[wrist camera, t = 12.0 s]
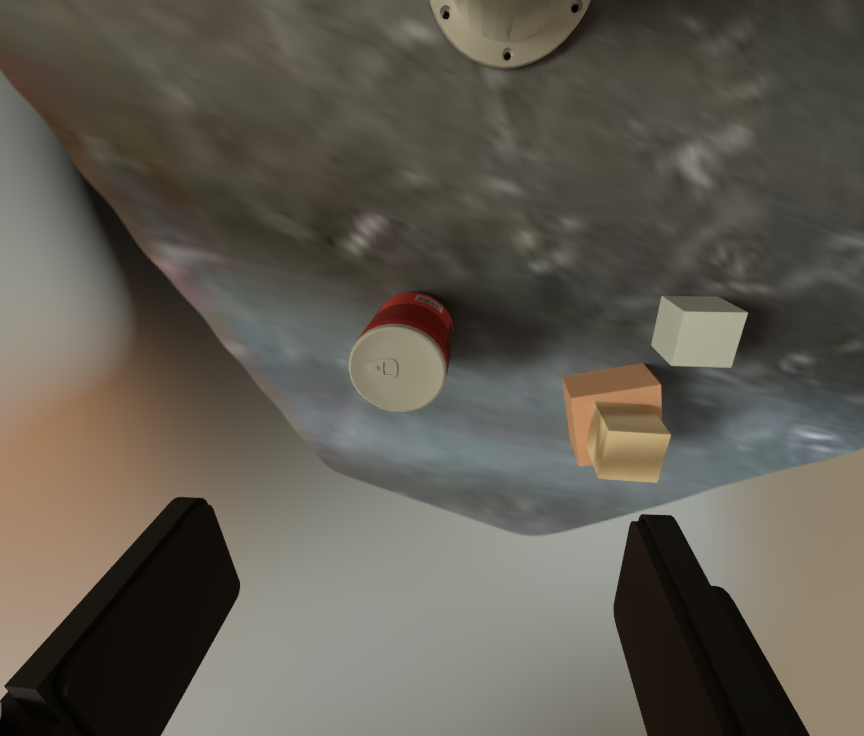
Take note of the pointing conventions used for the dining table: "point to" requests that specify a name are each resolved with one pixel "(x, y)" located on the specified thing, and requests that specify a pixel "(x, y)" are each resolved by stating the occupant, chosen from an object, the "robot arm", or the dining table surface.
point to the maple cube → (627, 442)
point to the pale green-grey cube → (698, 331)
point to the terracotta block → (605, 398)
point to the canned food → (403, 353)
